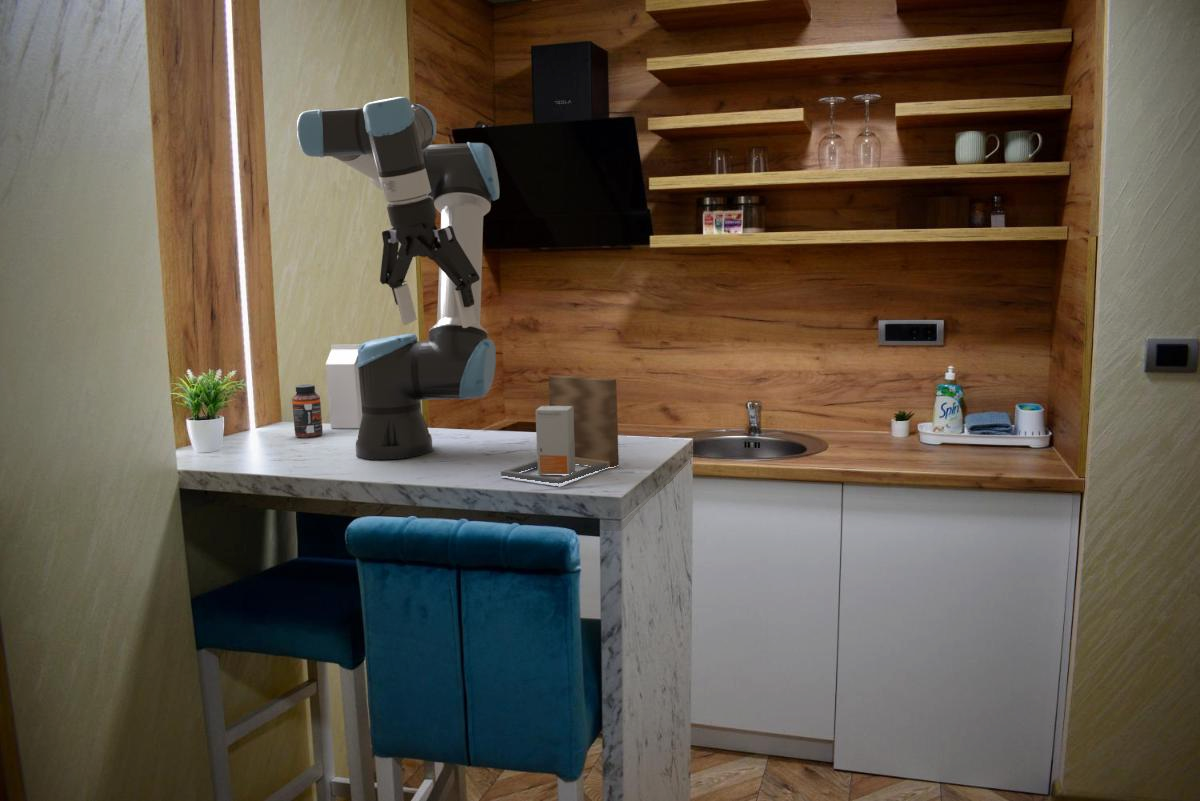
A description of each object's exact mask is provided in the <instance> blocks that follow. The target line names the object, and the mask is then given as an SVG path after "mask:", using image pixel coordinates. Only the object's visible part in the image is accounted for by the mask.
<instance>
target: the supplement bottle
mask: <svg viewBox="0 0 1200 801" xmlns="http://www.w3.org/2000/svg"><path fill="white" fill-rule="evenodd" d="M295 392H296V393H295V395H293V397H292V398H291V401H292V414H293V416H292V417H293V426H294V427H293V428H294V435H295V437H297V438H302V439H303V438H306V439H307V438H315V437H319V436H321V435H322V434H323V432H324V431H323V421H322V420H323V419H322V405H321V403H322V402H321V397H320V395H319V393H317V392H316V387H315V384H299V385H296V386H295Z"/></svg>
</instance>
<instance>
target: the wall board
mask: <svg viewBox="0 0 1200 801" xmlns="http://www.w3.org/2000/svg"><path fill="white" fill-rule="evenodd" d="M547 379H548V398H549V406H573V407H574V444H575V457H579V458H586V459H594V460H601V461H608V462H610V467H614V466H617V465H619V466H620V463H619V460H620V458H619V427H618V426H619V425H618V424H619V423H618V399H617V398H618V397H617V396H618V392H617V390H618V389H617V378H616V379H613V378H599V377H585V376H576V375H575V376H574V375H573V376H572V375H563V374H562V375H560V374H554V375H553V374H552V375H550V376H548V378H547Z"/></svg>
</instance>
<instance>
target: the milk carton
mask: <svg viewBox="0 0 1200 801" xmlns="http://www.w3.org/2000/svg"><path fill="white" fill-rule="evenodd" d="M360 345H361V344H359V343H358V344H357V343H356V344H354V343H353V344H352V343H351V344H330V346H331V349H330V352H329V354H328V357H327V360H326V361H325V371H326V372H325V373H326V374H325V375H326V385H327V394H328V395H327V397H328V408H329V419H330V420H329V422H330V428H331V429H360V424H361V420H362V405H361V394H360V382H359V371H358V367H357V366H358V349H359V347H360Z"/></svg>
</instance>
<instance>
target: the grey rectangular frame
mask: <svg viewBox="0 0 1200 801" xmlns="http://www.w3.org/2000/svg"><path fill="white" fill-rule="evenodd" d="M575 464H579V465H578V466H580V465H588V466H591V467H585V468H584V469H580V470H578V471H574V472H573V473H572V474H569V475H566V476H560V477H556V478H555V477H550V476H546V475H538V474H537V475H536V474H530V473H526V472H524V473H519V472H521V471H525V470H528V469H531V468H535V467H538V464H537V459H535V460H532V461H531V460H530V461H528V462H526V463H522V464H520V465H517V466H513V467H510V468H507V469H504V470H501V471H500V477H501V476H508V477H515V478H520V479H527V480H535V481H541V482H549V483H558V484H559V483H563V482H565V481H569V480H572V479H575V478H578V477H581V476H584V475H586V474H589V473H593V472H595V471H599V470H602V469H605V468H608V467H610V462H608V461H601V460H594V459H586V458H579V457H575Z"/></svg>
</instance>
